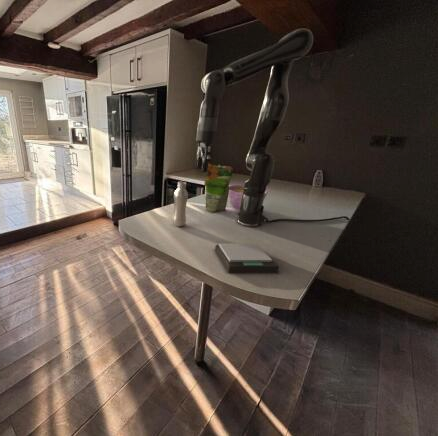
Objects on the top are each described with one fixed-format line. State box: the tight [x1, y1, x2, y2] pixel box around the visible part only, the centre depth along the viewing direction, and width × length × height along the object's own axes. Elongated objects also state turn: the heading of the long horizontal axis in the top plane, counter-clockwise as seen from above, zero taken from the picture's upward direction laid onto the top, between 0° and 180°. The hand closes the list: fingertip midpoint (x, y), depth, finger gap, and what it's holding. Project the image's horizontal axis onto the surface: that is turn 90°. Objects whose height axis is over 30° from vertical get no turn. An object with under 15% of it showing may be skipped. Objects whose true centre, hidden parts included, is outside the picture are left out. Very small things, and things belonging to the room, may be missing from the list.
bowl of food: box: [228, 184, 268, 212], centre depth 127 cm, size 20×20×12 cm
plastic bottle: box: [171, 181, 189, 227], centre depth 103 cm, size 6×7×20 cm
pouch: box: [204, 163, 234, 213], centre depth 123 cm, size 11×12×25 cm
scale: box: [214, 243, 280, 274], centre depth 80 cm, size 16×14×3 cm
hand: (201, 170), depth 99 cm, fingers open, 8 cm apart
